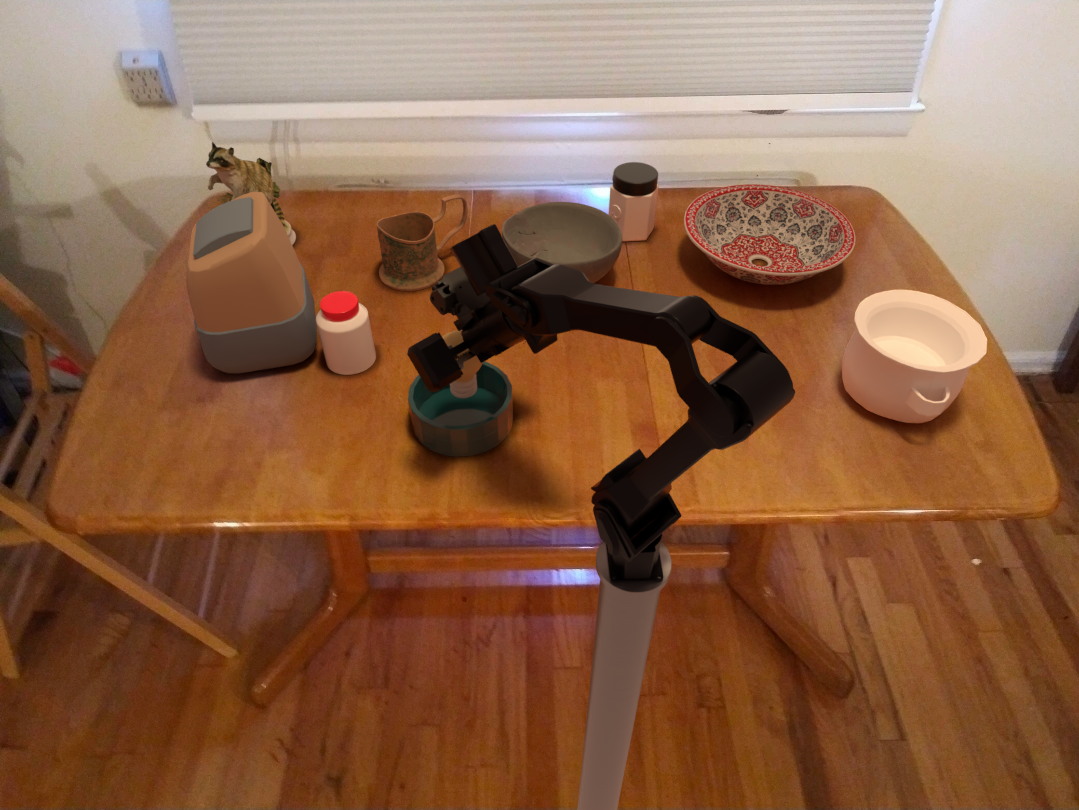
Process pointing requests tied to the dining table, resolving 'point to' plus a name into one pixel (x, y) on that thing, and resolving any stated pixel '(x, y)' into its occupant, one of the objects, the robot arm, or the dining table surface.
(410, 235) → the mug
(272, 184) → the figurine
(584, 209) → the bowl
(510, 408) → the round teal dish
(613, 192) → the jar
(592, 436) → the dining table surface
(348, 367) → the pill bottle
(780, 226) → the ceramic bowl
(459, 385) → the light bulb
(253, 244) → the trash can
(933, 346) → the pot
